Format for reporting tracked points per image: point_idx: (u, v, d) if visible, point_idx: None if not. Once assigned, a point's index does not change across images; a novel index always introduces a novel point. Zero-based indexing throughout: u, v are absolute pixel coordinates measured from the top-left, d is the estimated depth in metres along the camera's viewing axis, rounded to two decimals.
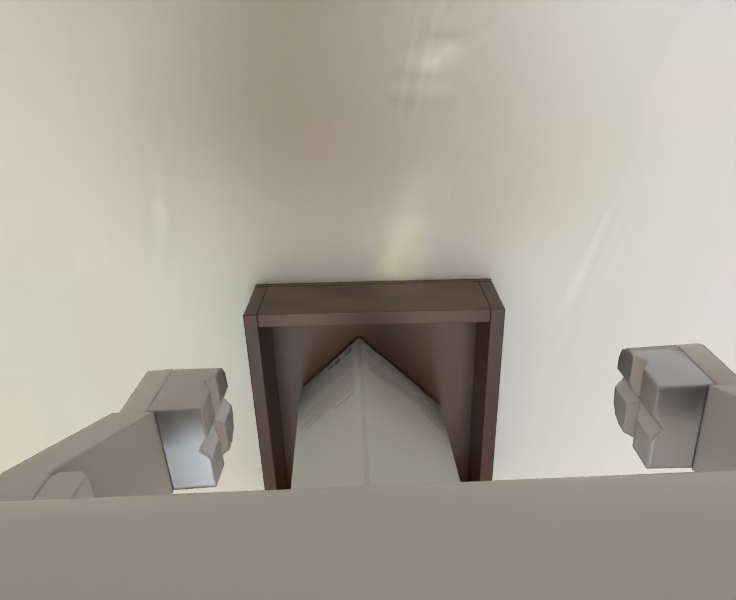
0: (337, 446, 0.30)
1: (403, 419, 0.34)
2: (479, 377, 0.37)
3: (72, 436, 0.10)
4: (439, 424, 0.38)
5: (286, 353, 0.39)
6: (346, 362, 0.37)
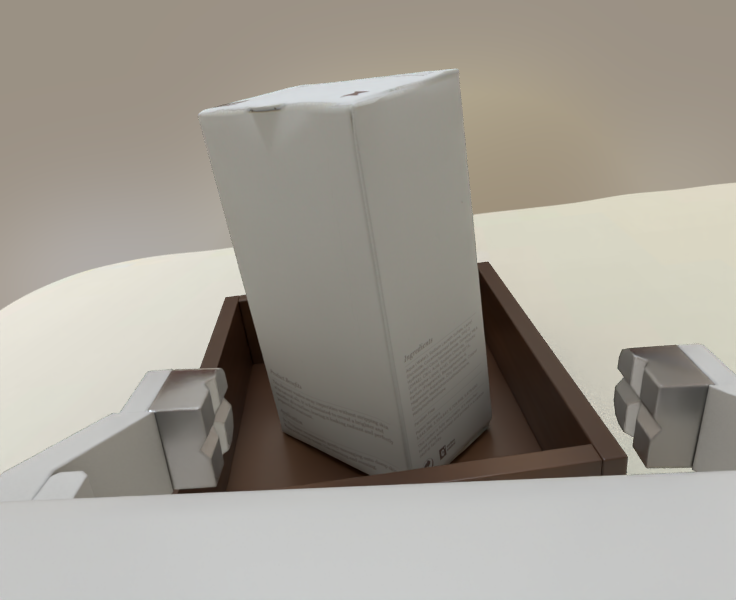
0: (415, 251, 0.20)
1: (324, 342, 0.22)
2: None
3: (72, 436, 0.10)
4: (279, 383, 0.26)
5: None
6: (427, 441, 0.22)
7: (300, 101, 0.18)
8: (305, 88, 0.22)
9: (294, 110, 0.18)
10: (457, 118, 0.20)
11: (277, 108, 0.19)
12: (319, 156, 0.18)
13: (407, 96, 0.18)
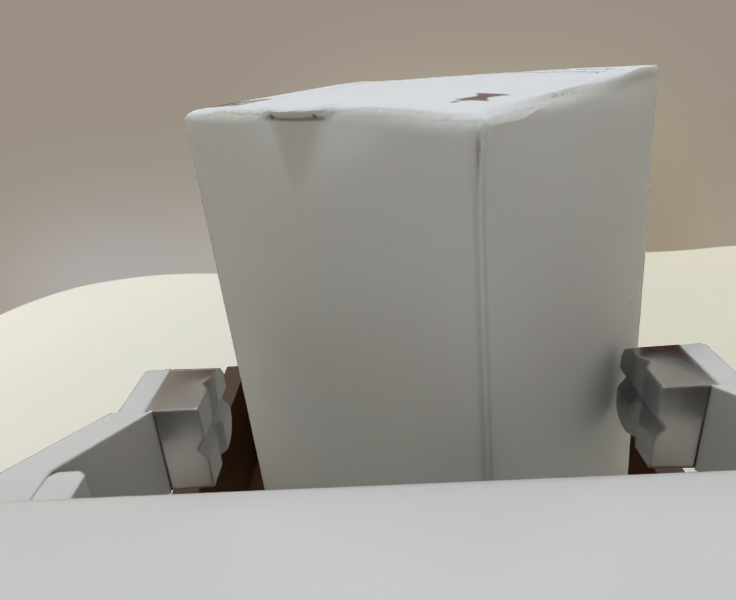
0: (553, 400, 0.11)
1: None
2: None
3: (70, 436, 0.10)
4: None
5: None
6: None
7: (365, 106, 0.09)
8: (369, 85, 0.13)
9: (351, 121, 0.09)
10: (645, 155, 0.11)
11: (319, 117, 0.10)
12: (394, 216, 0.09)
13: (581, 111, 0.09)
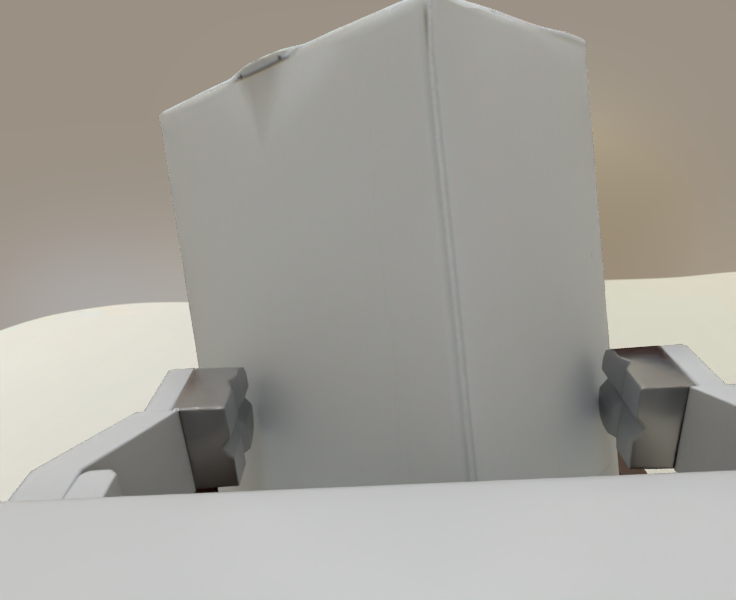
0: (524, 320, 0.10)
1: None
2: None
3: (98, 435, 0.10)
4: None
5: None
6: None
7: (325, 35, 0.10)
8: None
9: (312, 49, 0.10)
10: (584, 112, 0.12)
11: (283, 57, 0.11)
12: (355, 121, 0.10)
13: (519, 32, 0.10)
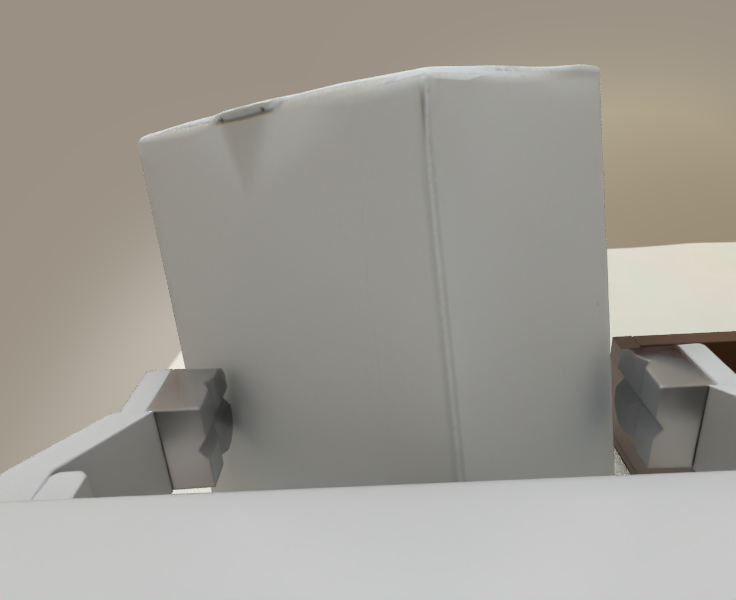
0: (525, 396, 0.10)
1: None
2: None
3: (71, 436, 0.10)
4: None
5: None
6: None
7: (311, 91, 0.09)
8: None
9: (298, 106, 0.09)
10: (595, 151, 0.11)
11: (267, 110, 0.10)
12: (345, 196, 0.09)
13: (527, 88, 0.09)
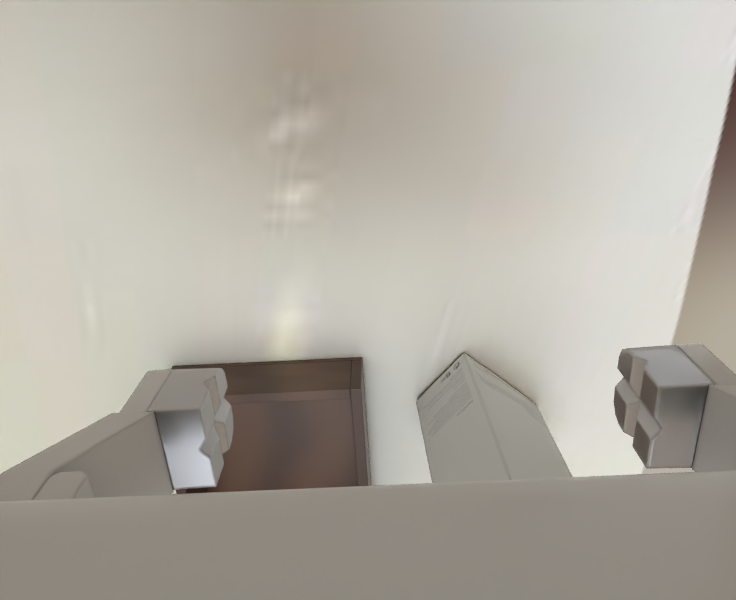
0: (469, 445, 0.37)
1: (516, 419, 0.40)
2: None
3: (72, 436, 0.10)
4: (540, 421, 0.44)
5: None
6: (457, 375, 0.43)
7: None
8: None
9: None
10: None
11: None
12: None
13: None
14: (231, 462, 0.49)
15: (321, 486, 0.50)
